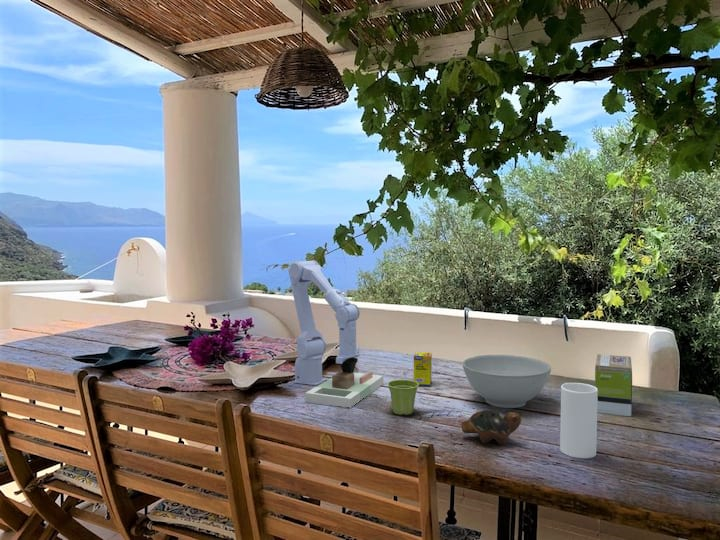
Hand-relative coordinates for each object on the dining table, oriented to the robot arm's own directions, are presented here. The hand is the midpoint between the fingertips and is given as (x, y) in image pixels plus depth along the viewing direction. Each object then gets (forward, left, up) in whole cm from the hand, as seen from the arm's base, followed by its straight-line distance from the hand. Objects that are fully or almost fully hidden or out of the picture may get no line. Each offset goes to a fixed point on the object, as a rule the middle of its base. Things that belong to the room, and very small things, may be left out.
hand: (348, 379), depth 181 cm
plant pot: (+24, -13, -4) cm, 27 cm away
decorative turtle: (+52, -25, -4) cm, 58 cm away
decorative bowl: (+51, +8, -4) cm, 52 cm away
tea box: (+82, +15, -4) cm, 84 cm away
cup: (+73, -24, -4) cm, 77 cm away
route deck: (0, -2, -4) cm, 4 cm away
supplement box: (+21, +17, -4) cm, 28 cm away
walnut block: (0, -4, -1) cm, 4 cm away
